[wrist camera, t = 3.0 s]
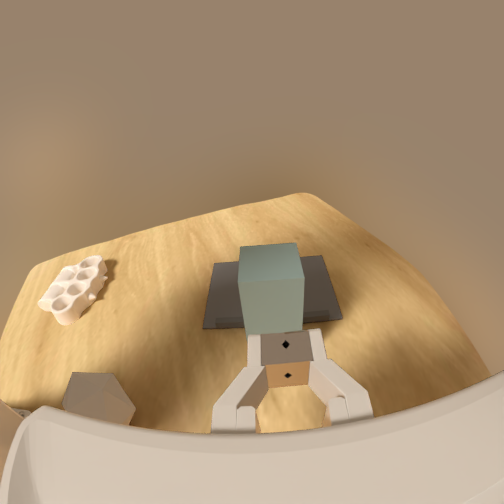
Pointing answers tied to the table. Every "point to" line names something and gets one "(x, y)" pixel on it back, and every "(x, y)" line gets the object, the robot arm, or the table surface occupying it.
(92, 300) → the white multi-hole holder
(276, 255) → the block
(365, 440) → the robot arm
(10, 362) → the table surface
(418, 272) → the table surface
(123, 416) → the die
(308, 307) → the charcoal mat
